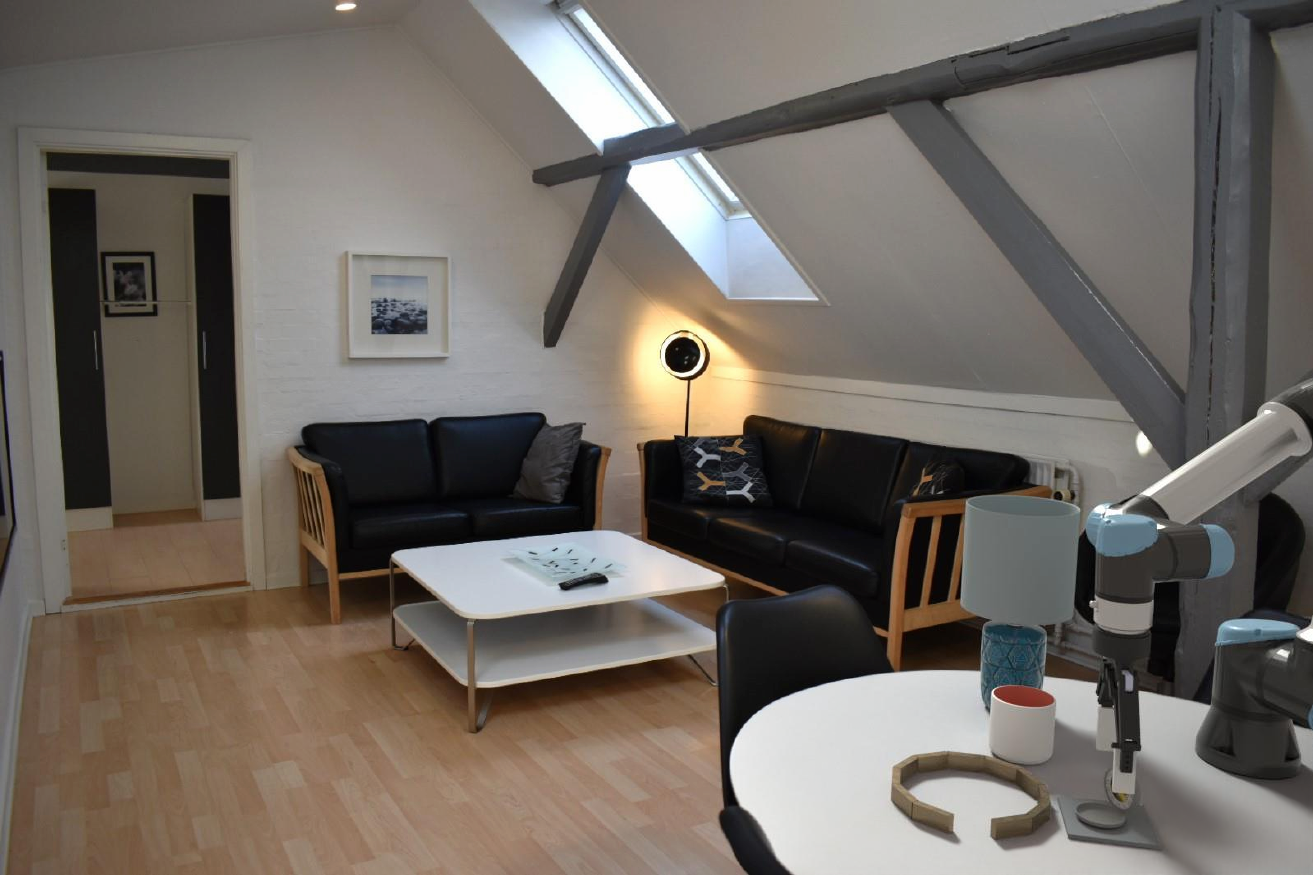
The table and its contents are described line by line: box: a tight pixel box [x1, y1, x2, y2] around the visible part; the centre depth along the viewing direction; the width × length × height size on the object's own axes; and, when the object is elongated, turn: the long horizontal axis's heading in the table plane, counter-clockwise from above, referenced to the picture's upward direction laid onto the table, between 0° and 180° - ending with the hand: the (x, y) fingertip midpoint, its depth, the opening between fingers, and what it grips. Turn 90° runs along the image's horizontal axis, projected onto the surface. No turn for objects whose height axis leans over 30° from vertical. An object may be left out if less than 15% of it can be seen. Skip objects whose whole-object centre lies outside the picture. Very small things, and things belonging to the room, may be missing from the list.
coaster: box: [1056, 794, 1163, 851], centre depth 152 cm, size 12×12×1 cm
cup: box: [988, 685, 1057, 766], centre depth 174 cm, size 10×10×10 cm
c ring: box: [890, 750, 1052, 840], centre depth 158 cm, size 22×22×2 cm
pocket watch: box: [1075, 764, 1142, 828], centre depth 151 cm, size 8×8×10 cm
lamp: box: [960, 494, 1081, 710], centre depth 191 cm, size 19×19×38 cm
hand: (1114, 770), depth 151 cm, fingers open, 13 cm apart
